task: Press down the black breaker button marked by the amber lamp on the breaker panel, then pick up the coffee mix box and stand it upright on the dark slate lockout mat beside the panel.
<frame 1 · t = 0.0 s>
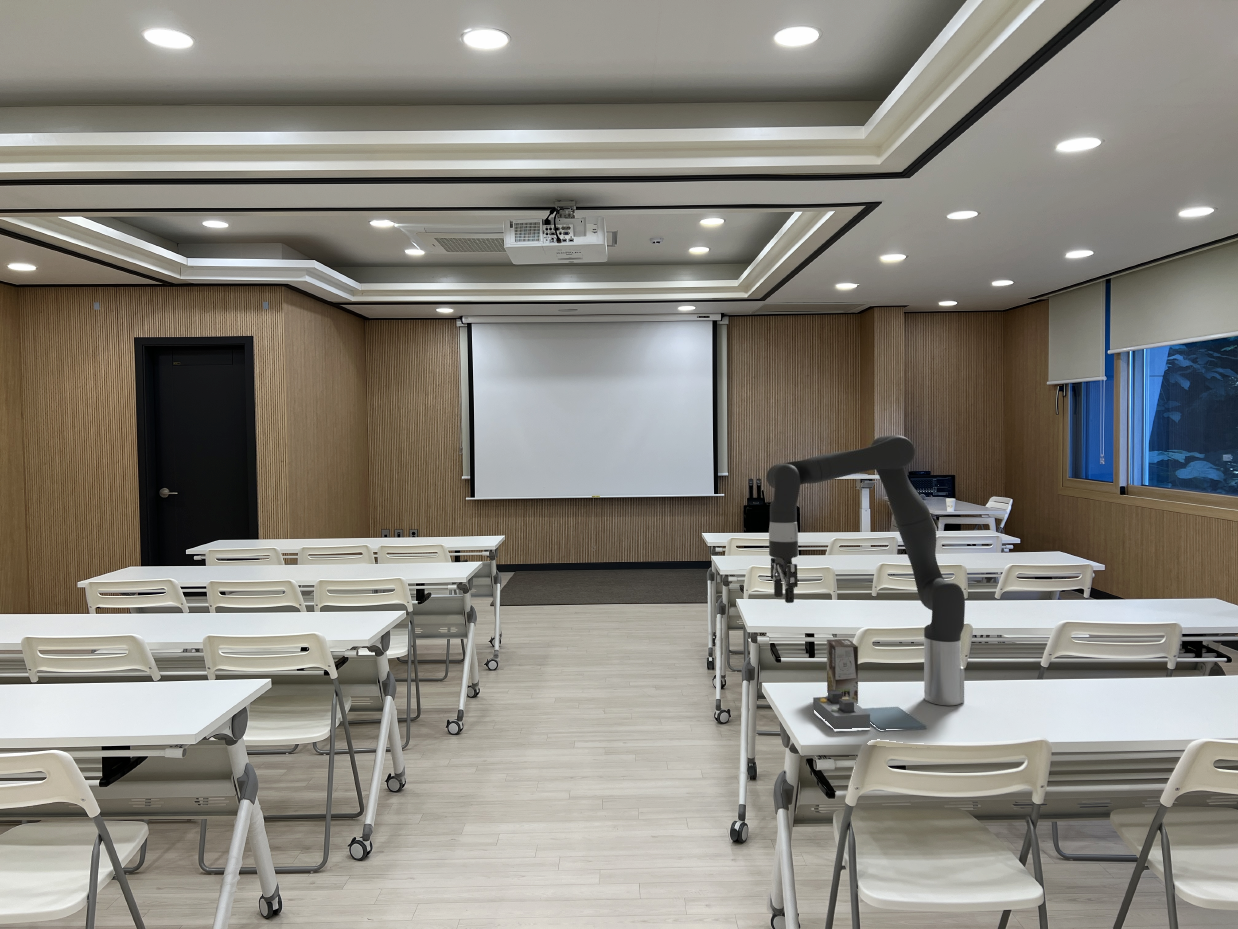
hand: (783, 599, 198), 29 cm above the table, tool pointing down, fingers open, 8 cm apart
coffee box: (842, 701, 205), on the table
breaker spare: (846, 706, 186), point 5 cm above the table, slide at 0.0 cm
lockout mat: (889, 720, 190), on the table
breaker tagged: (835, 697, 192), point 5 cm above the table, slide at 0.0 cm
breaker panel: (840, 721, 189), on the table
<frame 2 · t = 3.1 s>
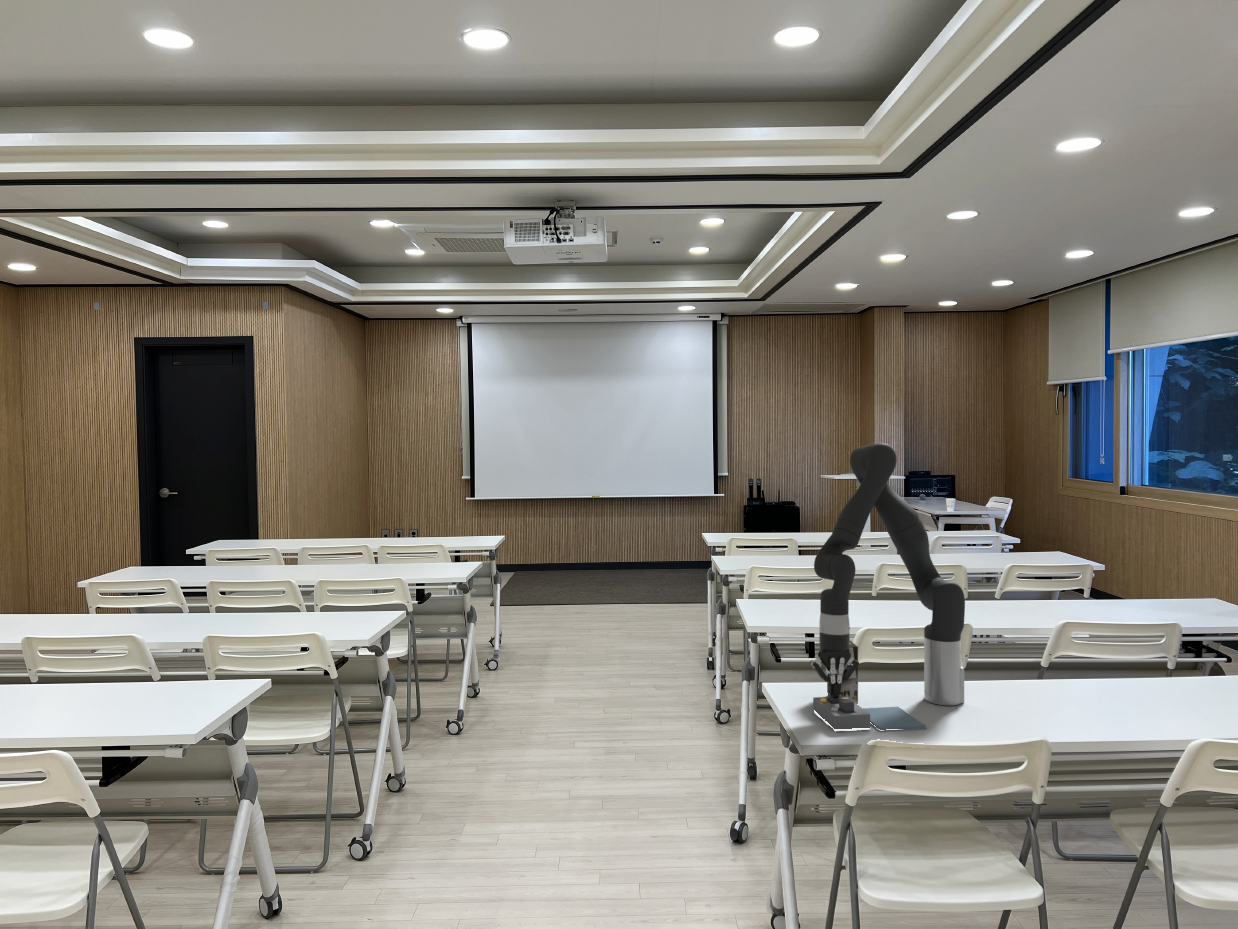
hand: (834, 696, 193), 5 cm above the table, tool pointing down, fingers closed
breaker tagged: (835, 702, 192), point 4 cm above the table, slide at 1.3 cm, touching gripper
everything else where it was.
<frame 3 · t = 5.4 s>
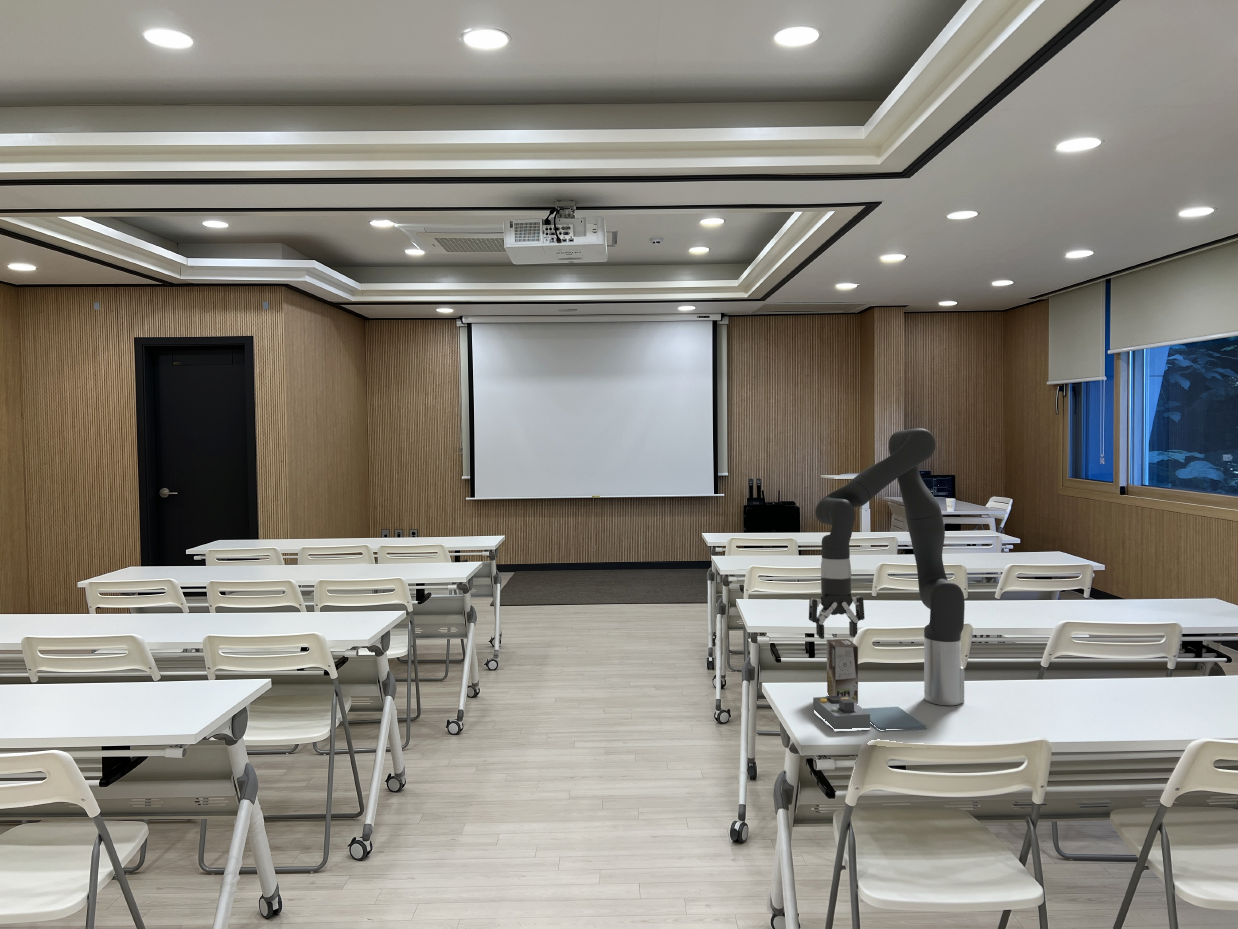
hand: (836, 637, 193), 20 cm above the table, tool pointing down, fingers open, 8 cm apart
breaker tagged: (835, 703, 192), point 3 cm above the table, slide at 1.6 cm
everything else where it was.
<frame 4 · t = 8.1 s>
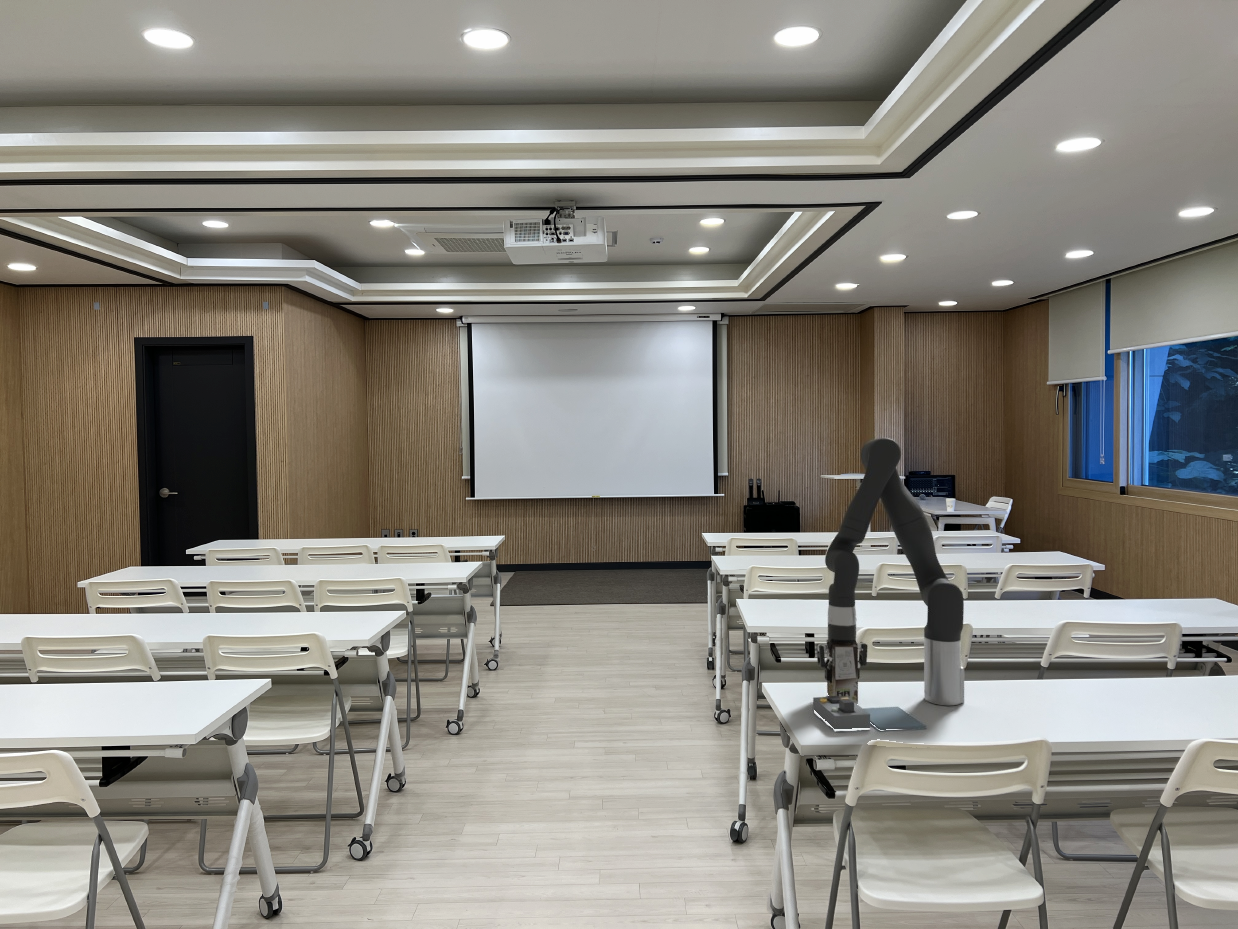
hand: (842, 681, 205), 5 cm above the table, tool pointing down, fingers closed on coffee box, 7 cm apart
coffee box: (842, 701, 205), on the table, touching gripper
everything else where it was.
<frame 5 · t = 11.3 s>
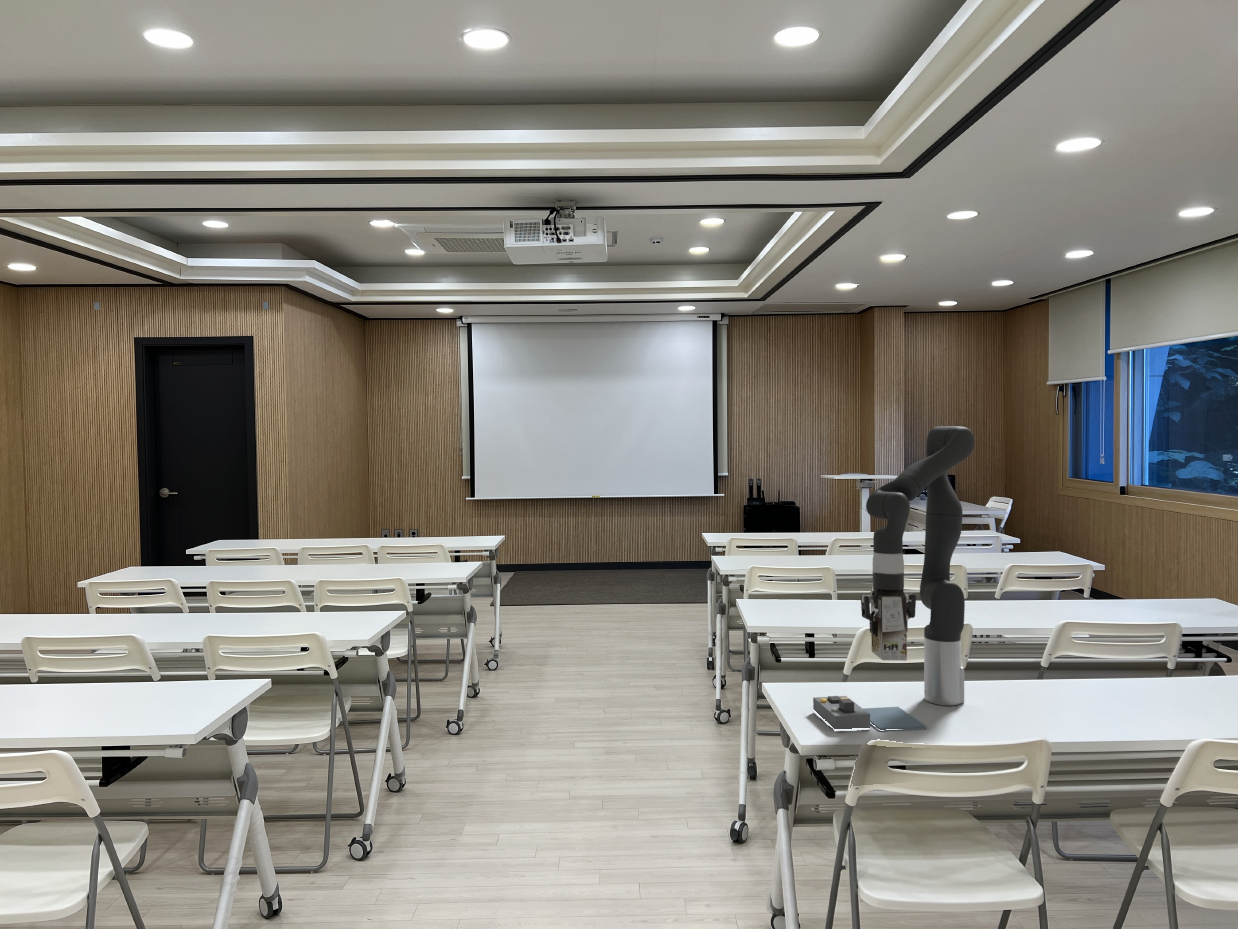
hand: (888, 635, 190), 22 cm above the table, tool pointing down, fingers closed on coffee box, 7 cm apart
coffee box: (888, 656, 190), point 16 cm above the table, touching gripper
everything else where it was.
when the fingers open (8 cm above the table, at t = 14.6 s): coffee box drops 1 cm, resting on lockout mat.
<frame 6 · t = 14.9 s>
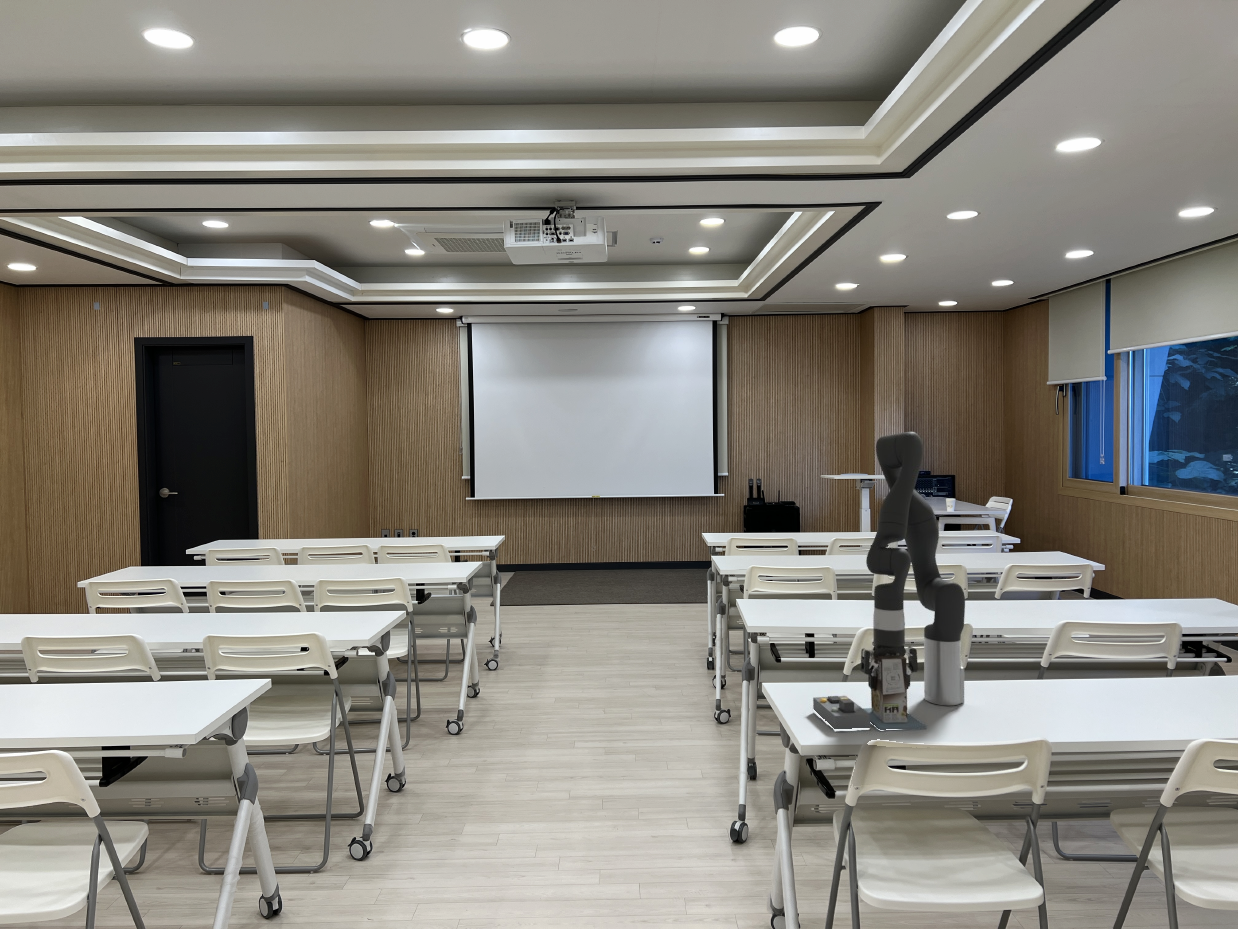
hand: (889, 689, 189), 8 cm above the table, tool pointing down, fingers open, 8 cm apart
coffee box: (889, 717, 189), point 1 cm above the table, touching lockout mat
everything else where it was.
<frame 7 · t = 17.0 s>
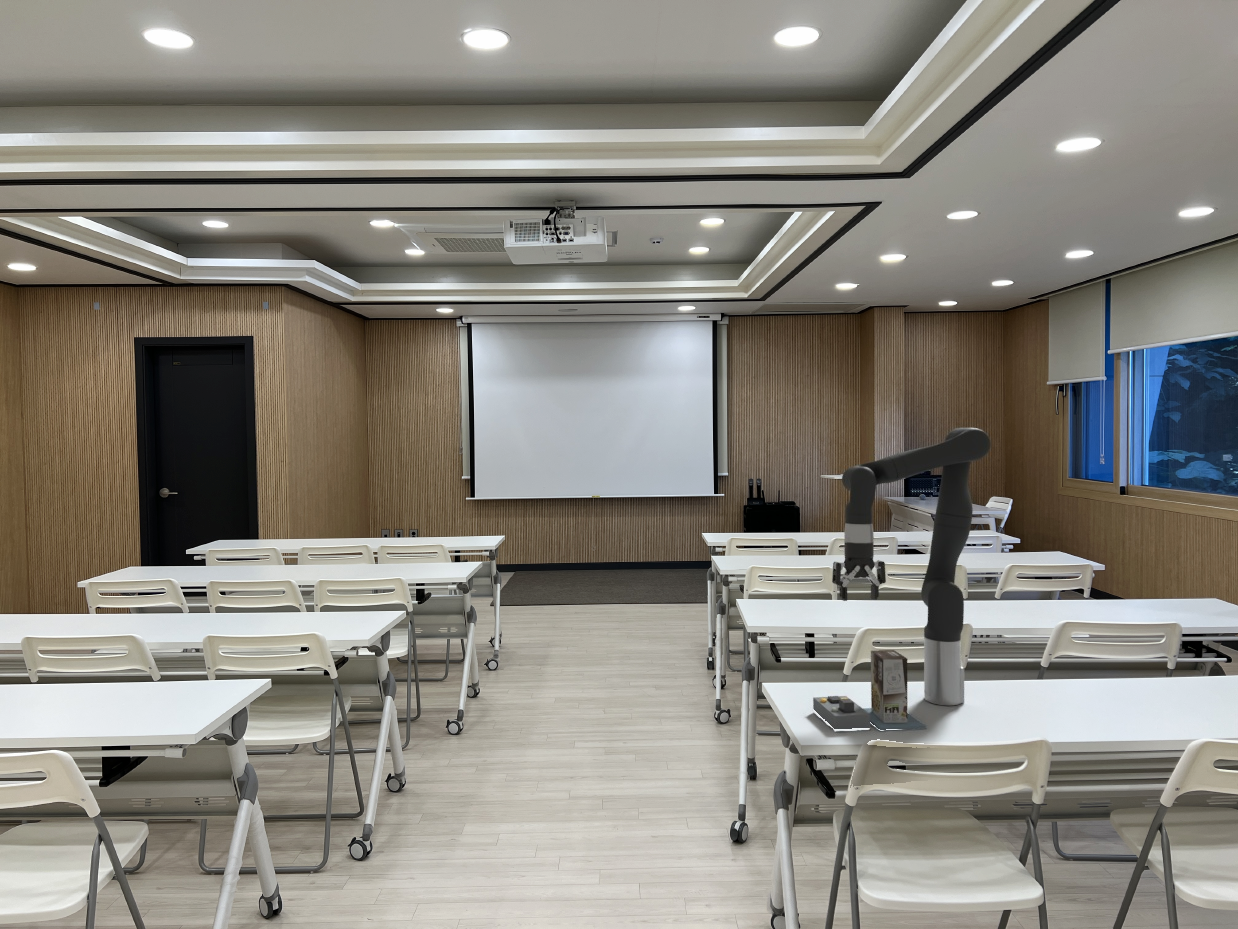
hand: (859, 599, 202), 28 cm above the table, tool pointing down, fingers open, 8 cm apart
nothing on the table moved.
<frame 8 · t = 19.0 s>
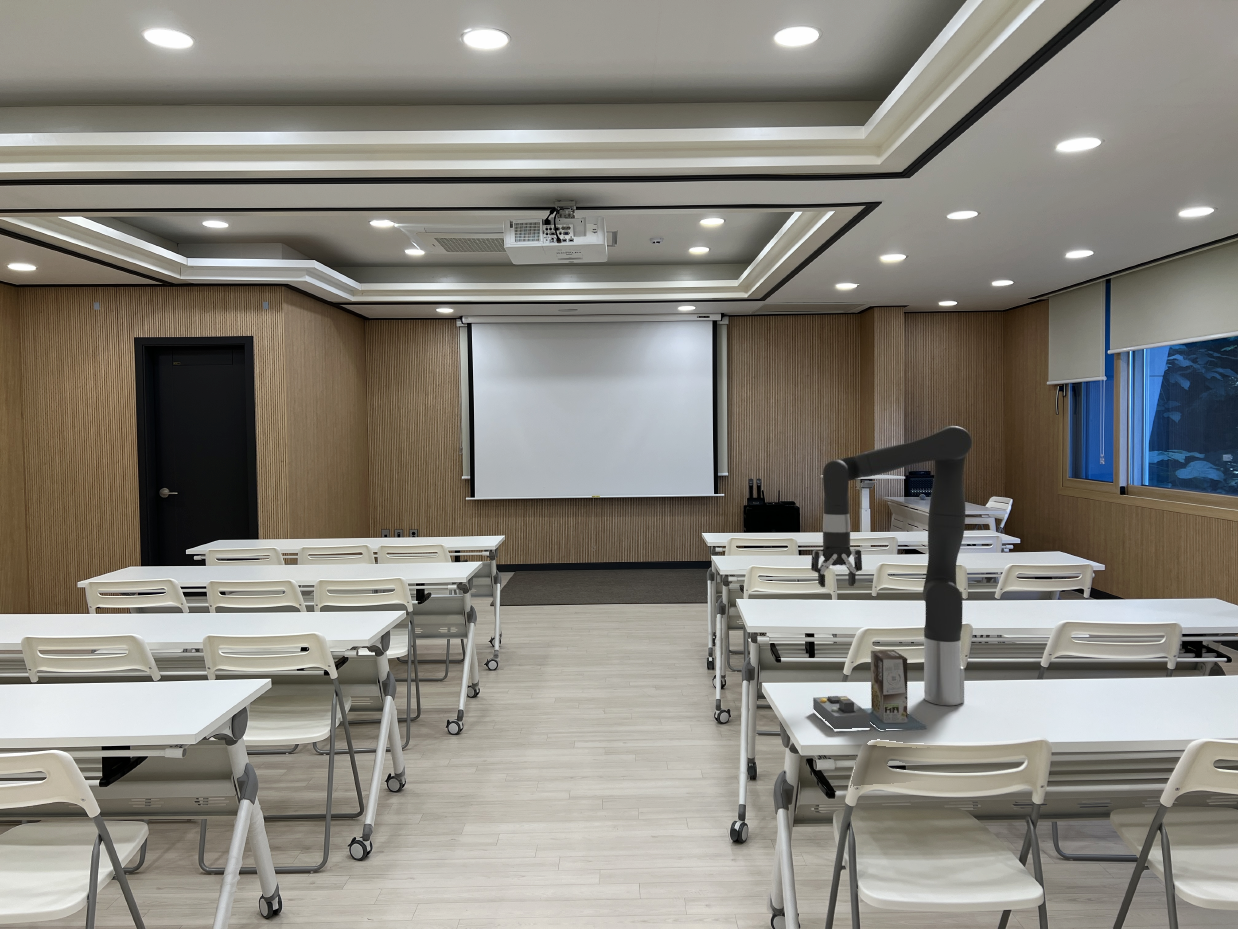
hand: (836, 586, 213), 30 cm above the table, tool pointing down, fingers open, 8 cm apart
nothing on the table moved.
at the end: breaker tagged slide at 1.6 cm; coffee box inside the target area on the lockout mat (0.1 cm from its centre), point 0.6 cm above the lockout mat's base; coffee box tilted 0° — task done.
